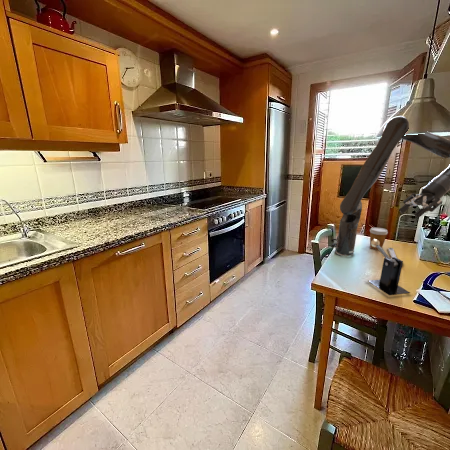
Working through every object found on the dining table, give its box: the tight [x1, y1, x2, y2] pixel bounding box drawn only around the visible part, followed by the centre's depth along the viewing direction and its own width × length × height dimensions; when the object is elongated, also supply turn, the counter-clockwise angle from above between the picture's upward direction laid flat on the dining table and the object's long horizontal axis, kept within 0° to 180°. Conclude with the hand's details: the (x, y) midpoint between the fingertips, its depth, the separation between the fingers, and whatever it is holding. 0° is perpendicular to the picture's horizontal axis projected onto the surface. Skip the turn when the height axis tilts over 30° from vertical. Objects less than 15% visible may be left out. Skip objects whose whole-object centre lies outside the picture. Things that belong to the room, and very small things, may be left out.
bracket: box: [368, 257, 411, 296], centre depth 103 cm, size 12×10×14 cm
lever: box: [371, 239, 398, 268], centre depth 106 cm, size 15×4×4 cm, turn 10°
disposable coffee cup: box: [369, 227, 389, 251], centre depth 149 cm, size 10×10×12 cm
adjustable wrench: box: [387, 247, 404, 266], centre depth 136 cm, size 25×6×2 cm, turn 148°
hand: (408, 214), depth 108 cm, fingers open, 8 cm apart
